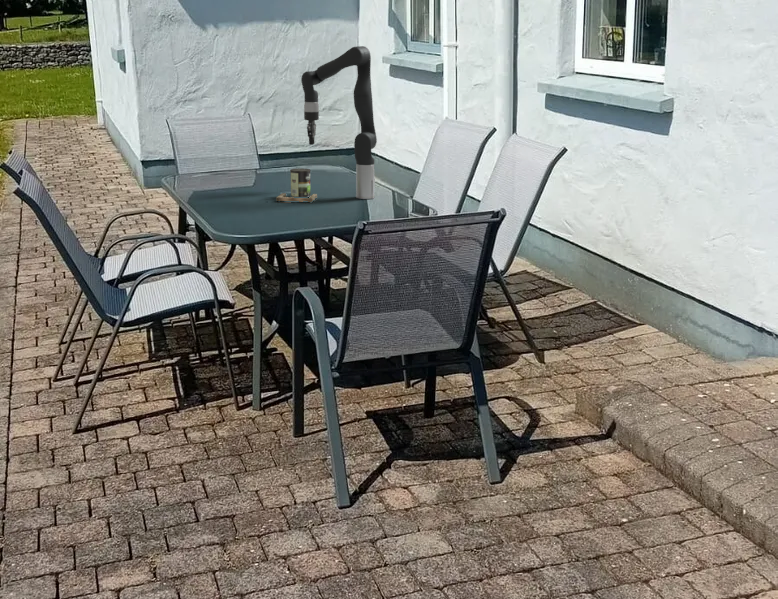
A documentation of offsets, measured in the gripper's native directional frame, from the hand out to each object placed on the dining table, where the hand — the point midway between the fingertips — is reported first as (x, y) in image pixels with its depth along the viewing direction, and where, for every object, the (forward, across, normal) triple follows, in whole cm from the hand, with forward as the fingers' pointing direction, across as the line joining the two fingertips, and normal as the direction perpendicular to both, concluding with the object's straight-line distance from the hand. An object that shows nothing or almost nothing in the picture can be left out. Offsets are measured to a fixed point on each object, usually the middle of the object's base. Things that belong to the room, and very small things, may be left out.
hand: (311, 144), depth 513 cm
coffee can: (+25, -17, +3) cm, 31 cm away
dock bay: (+25, -26, +3) cm, 36 cm away
